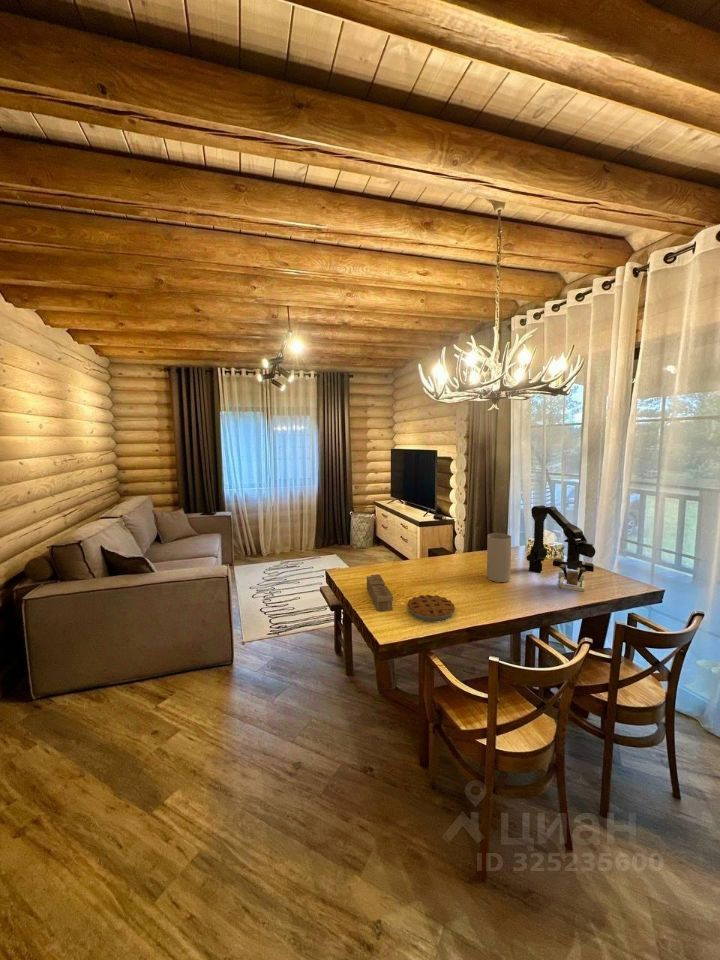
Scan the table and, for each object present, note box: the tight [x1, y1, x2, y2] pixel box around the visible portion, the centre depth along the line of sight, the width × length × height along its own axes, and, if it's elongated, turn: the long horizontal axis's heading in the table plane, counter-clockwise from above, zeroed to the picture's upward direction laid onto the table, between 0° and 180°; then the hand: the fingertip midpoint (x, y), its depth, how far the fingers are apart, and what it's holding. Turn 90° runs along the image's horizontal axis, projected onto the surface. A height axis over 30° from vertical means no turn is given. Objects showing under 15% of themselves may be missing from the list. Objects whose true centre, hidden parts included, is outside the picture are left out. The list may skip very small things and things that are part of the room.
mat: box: [558, 571, 585, 583], centre depth 210 cm, size 12×10×1 cm
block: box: [566, 569, 579, 587], centre depth 197 cm, size 5×5×6 cm
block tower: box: [366, 573, 394, 612], centre depth 187 cm, size 8×8×29 cm
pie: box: [406, 594, 456, 623], centre depth 172 cm, size 22×22×5 cm
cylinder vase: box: [486, 532, 512, 583], centre depth 208 cm, size 12×12×25 cm
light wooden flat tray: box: [558, 577, 586, 592], centre depth 199 cm, size 11×13×2 cm
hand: (572, 580), depth 197 cm, fingers closed on block, 5 cm apart
